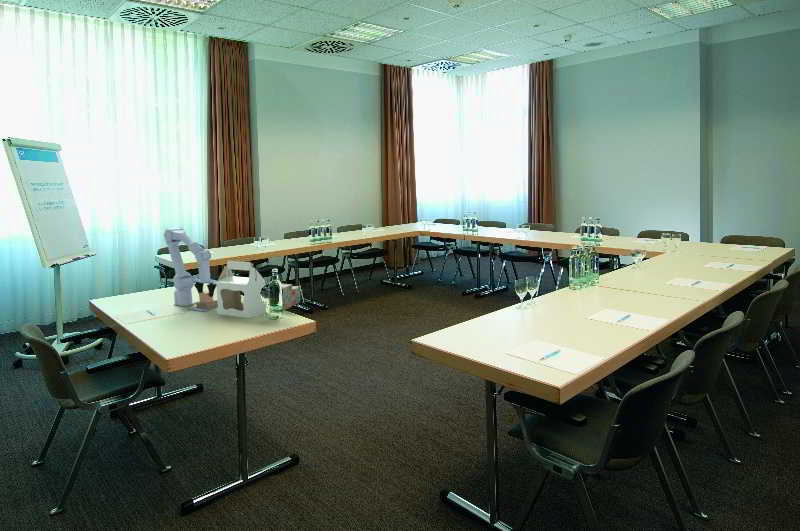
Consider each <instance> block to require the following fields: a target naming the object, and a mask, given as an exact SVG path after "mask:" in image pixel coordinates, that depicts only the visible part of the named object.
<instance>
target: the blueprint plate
mask: <svg viewBox="0 0 800 531" xmlns="http://www.w3.org/2000/svg"><path fill="white" fill-rule="evenodd" d="M214 309H218V299H213V301H210V302H207V303H206V302H200V300H199V301H196V303H195V306H193V307H190V308H188V311H193V312H202V313H203V312H204V313H205V312H209V311H212V310H214Z"/></svg>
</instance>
